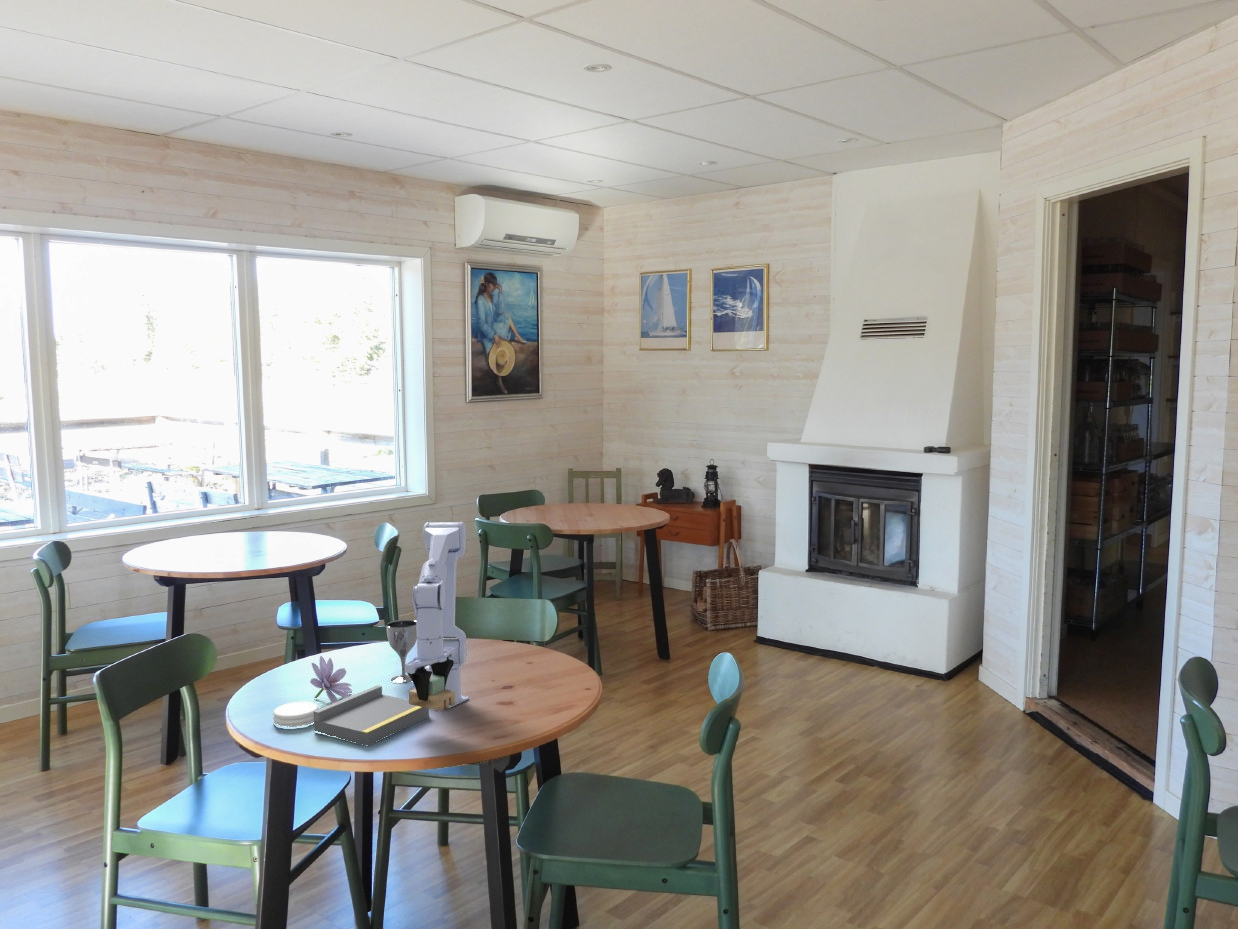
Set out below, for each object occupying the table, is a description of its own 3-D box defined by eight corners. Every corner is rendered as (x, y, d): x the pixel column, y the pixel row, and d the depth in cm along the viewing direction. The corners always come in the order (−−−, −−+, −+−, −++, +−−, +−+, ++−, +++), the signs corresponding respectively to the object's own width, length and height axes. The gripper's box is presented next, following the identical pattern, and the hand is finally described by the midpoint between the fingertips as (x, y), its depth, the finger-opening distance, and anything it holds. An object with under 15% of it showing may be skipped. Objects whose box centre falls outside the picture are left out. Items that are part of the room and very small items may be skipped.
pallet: (408, 704, 210) (408, 691, 209) (423, 697, 214) (423, 684, 214) (440, 711, 205) (440, 697, 205) (454, 704, 210) (454, 691, 209)
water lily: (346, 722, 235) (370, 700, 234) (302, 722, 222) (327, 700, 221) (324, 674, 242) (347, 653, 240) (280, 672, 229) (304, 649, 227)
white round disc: (266, 723, 217) (265, 708, 217) (306, 712, 224) (306, 697, 224) (285, 734, 210) (284, 719, 210) (327, 722, 217) (326, 708, 217)
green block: (418, 692, 209) (418, 679, 208) (430, 687, 212) (430, 674, 212) (432, 695, 207) (432, 681, 206) (444, 689, 210) (444, 676, 210)
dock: (314, 733, 210) (313, 711, 210) (377, 705, 227) (377, 685, 227) (367, 746, 202) (366, 724, 202) (429, 716, 220) (428, 696, 219)
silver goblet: (421, 682, 245) (420, 625, 243) (390, 685, 242) (388, 628, 240) (416, 673, 252) (414, 618, 251) (386, 676, 249) (384, 621, 248)
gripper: (421, 647, 200) (423, 709, 201) (464, 630, 212) (466, 689, 214) (396, 642, 203) (398, 703, 205) (440, 627, 216) (442, 684, 217)
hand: (431, 696), depth 209 cm, fingers closed on pallet, 5 cm apart
